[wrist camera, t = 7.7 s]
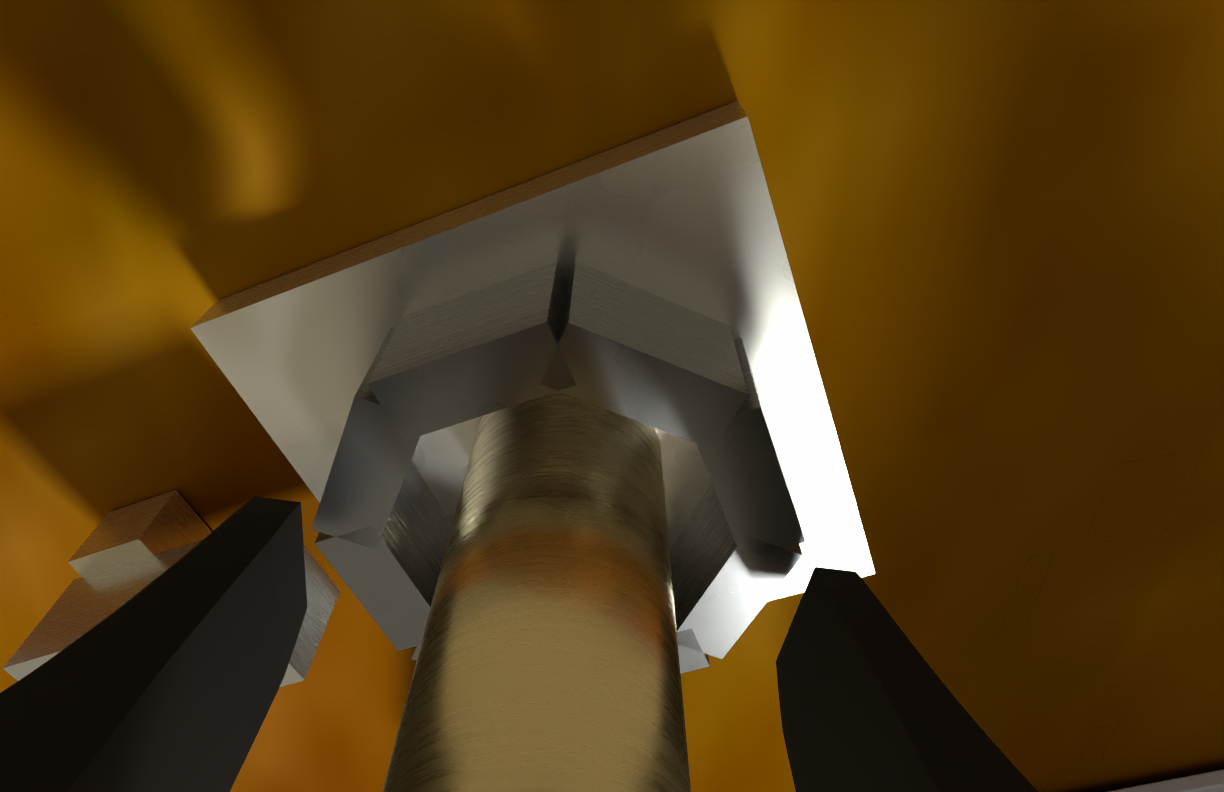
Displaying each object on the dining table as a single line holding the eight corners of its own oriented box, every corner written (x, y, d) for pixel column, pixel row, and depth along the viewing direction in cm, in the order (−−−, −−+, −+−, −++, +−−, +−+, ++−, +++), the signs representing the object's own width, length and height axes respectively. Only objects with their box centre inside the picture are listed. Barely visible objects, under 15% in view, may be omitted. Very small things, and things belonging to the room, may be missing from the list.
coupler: (631, 352, 12) (651, 840, 6) (680, 503, 14) (739, 1018, 8) (445, 401, 13) (272, 903, 6) (512, 541, 15) (430, 1056, 8)
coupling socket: (737, 100, 11) (778, 166, 9) (914, 724, 19) (967, 870, 16) (-16, 390, 14) (-178, 515, 11) (402, 834, 22) (369, 976, 19)
